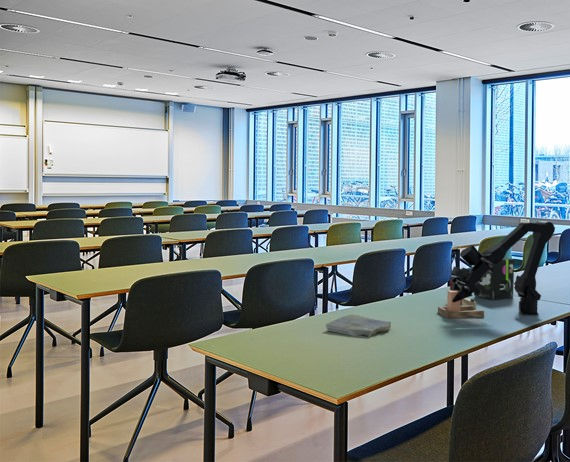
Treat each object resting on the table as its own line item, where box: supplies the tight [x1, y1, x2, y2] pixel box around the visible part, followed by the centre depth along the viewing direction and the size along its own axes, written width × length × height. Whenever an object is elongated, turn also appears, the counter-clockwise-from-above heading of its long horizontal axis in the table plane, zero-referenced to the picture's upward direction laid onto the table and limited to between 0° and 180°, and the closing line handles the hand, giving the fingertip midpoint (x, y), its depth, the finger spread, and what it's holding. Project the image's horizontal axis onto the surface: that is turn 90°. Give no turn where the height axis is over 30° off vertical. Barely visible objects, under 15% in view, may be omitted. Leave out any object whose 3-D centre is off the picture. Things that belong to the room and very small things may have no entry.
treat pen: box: [437, 305, 485, 319], centre depth 253 cm, size 17×22×3 cm
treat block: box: [446, 289, 462, 311], centre depth 247 cm, size 4×4×10 cm
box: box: [476, 257, 515, 301], centre depth 286 cm, size 14×12×19 cm
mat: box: [451, 317, 487, 326], centre depth 236 cm, size 10×10×1 cm
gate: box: [461, 297, 477, 311], centre depth 260 cm, size 2×9×4 cm, turn 8°
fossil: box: [325, 314, 392, 339], centre depth 226 cm, size 20×5×17 cm
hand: (450, 300), depth 246 cm, fingers closed on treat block, 4 cm apart
